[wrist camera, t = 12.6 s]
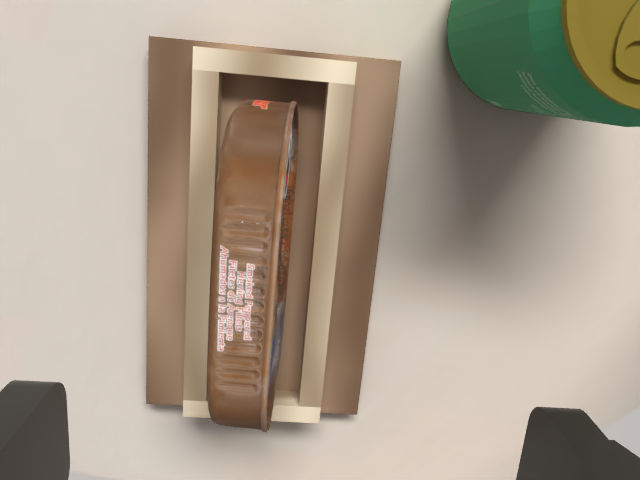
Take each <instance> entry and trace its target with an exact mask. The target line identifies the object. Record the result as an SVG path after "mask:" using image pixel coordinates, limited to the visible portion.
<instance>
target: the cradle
mask: <svg viewBox="0 0 640 480" xmlns="http://www.w3.org/2000/svg"><path fill="white" fill-rule="evenodd" d="M400 68H401V61H395V60H385V59H375V58H365V57H355V56H345V55H335V54H325V53H315V52H304V51H294V50H284V49H274V48H264V47H254V46H244V45H234V44H223V43H213V42H203V41H193V40H183V39H173V38H163V37H153V36H149V89H148V237H147V385H146V404H164V405H183V417H202V418H211V417H210V414H209V411H208V402H207V353H208V319H209V294H210V272H211V251H212V232H213V212H214V198H215V187H216V178H217V170H218V163H219V156H220V151H221V146H222V141H223V137H224V132H225V128H226V125H227V122H228V119H229V117H230V115H231V114H232V112H233V111H234V110H235V109H236V108H237V107H238V106H239V105H240V104H241V103H242V102H243V101H245V100H264V101H273V102H283V103H290V102H292V101H296V102H297V103H298V113H299V139H298V156H297V174H296V187H295V200H294V211H293V223H292V235H291V245H290V258H289V269H288V283H287V294H286V306H285V316H284V328H283V338H282V349H281V357H280V363H279V369H278V376H277V382H276V391H275V397H274V405H273V411H272V417H271V421H281V422H301V423H319V420H320V413H338V414H357V410H358V402H359V394H360V386H361V378H362V370H363V362H364V355H365V347H366V339H367V331H368V323H369V315H370V307H371V299H372V291H373V283H374V275H375V267H376V259H377V251H378V243H379V235H380V227H381V219H382V211H383V203H384V195H385V187H386V179H387V171H388V163H389V155H390V147H391V140H392V132H393V124H394V116H395V108H396V100H397V92H398V84H399V76H400Z"/></svg>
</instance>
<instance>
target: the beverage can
mask: <svg viewBox="0 0 640 480" xmlns="http://www.w3.org/2000/svg"><path fill="white" fill-rule="evenodd" d="M447 39H448V48H449V52H450V55H451V59H452V62H453V64H454V66H455V69H456V71H457V73H458V74H459V76H460V78H461V79H462V81H463V82H464V83H465V85H466V86H467V87H468V88H469V89H470V90H471V91H472V92H473V93H474V94H476V95H477V96H478V97H480V98H481V99H482V100H484V101H486V102H488V103H490V104H492V105H494V106H498V107H501V108H504V109H510V110H517V111H523V112H530V113H537V114H543V115H550V116H556V117H563V118H570V119H576V120H583V121H590V122H596V123H603V124H610V125H617V126H624V127H636V126H640V0H452V2H451V5H450V10H449V15H448V22H447Z"/></svg>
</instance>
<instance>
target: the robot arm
mask: <svg viewBox="0 0 640 480" xmlns="http://www.w3.org/2000/svg"><path fill="white" fill-rule="evenodd" d="M69 469H70V453H69V435H68V417H67V399H66V391H65V388H64V386H63V384H62V383H59V382H39V381H18V380H14V381H11V382H10V383H9V384H7V385H6V386H5V387H4V389H3V390H2V391H1V392H0V480H68V477H69ZM516 480H640V458H639V457H638V456H636V455H635V454H633V453H632V452H630V451H629V450H628V449H626V448H625V447H623V446H622V445H620V444H619V443H617V442H616V441H615V440H608V438H607V437H606V436H605V435H604V434H603V433H602V431H601V430H600V429H599V428H598V427H597V425H596V424H595V423H594V422H593V421H592V420H591V418H590V417H589V416H588V415H587V414H586V413H585V412H584V411H583V410H581V409H570V408H550V407H536V408H534V409H533V410H532V412H531V414H530V417H529V420H528V425H527V430H526V435H525V440H524V444H523V449H522V454H521V459H520V464H519V469H518V473H517V478H516Z"/></svg>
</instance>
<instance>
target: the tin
mask: <svg viewBox="0 0 640 480" xmlns="http://www.w3.org/2000/svg"><path fill="white" fill-rule="evenodd" d="M298 139H299V113H298V103H297V102H296V101H292V102H290V103H283V102H273V101H264V100H245V101H243V102H242V103H241V104H240V105H239V106H238V107H237V108H236V109H235V110H234V111H233V112H232V114H231V115H230V117H229V119H228V122H227V125H226V128H225V132H224V137H223V141H222V146H221V151H220V156H219V163H218V170H217V178H216V187H215V198H214V212H213V232H212V251H211V272H210V294H209V319H208V353H207V402H208V411H209V414H210V417H211V419H212V420H213V421H214V422H215V423H217V424H220V425H225V426H233V427H243V428H254V429H261V430H262V431H263V432H268V430H269V427H270V422H271V417H272V411H273V405H274V397H275V391H276V382H277V376H278V369H279V363H280V357H281V349H282V338H283V328H284V316H285V306H286V294H287V283H288V269H289V258H290V245H291V235H292V223H293V211H294V200H295V187H296V174H297V156H298Z"/></svg>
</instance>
